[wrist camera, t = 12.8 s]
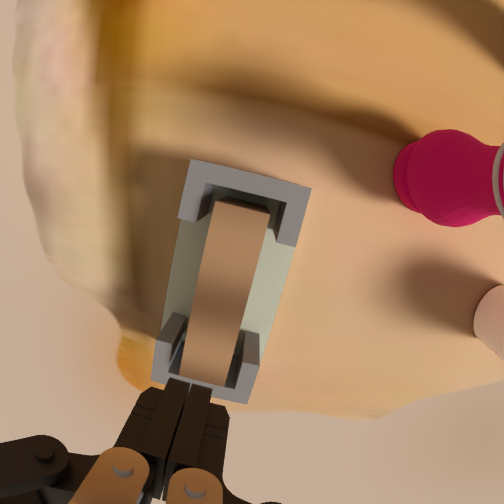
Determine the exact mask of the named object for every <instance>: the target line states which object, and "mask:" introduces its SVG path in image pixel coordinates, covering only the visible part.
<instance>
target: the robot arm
mask: <svg viewBox="0 0 504 504" xmlns="http://www.w3.org/2000/svg"><path fill="white" fill-rule="evenodd" d="M189 389H190V391H189ZM212 390H213V388H209V387H205V386H201V385H197V384H193V383H192V385H191V388H190V383H189V382H185V381H182V380H178V379H175V378H171V377H170V378H169V379H168V382H167V384H166V386H165V389H164V390H161V389H158V388H154V387H150V388H148V389H147V390H145V391H144V392H142V393H141V394H140V396H139V398H138V400H137V402H136V405H135V406H134V408H133V410H132V412H131V414H130V416H129V418H128V420H127V421H126V423H125V425H124V427H123V429H122V431H121V433H120V435H119V437H118V439H117V441H116V443H115V445H114V446H113V447H112V448H110V449H107V450H106V451H104V452H103V453H102V454H100V455H93V456H89V455H81V454H75V453H69V452H68V451H67V449H66V447H65V446H64V445H63V444H62V443H61V442H60V441H59V440H57V439H55V438H53V437H50V436H47V435H36V436H31V437H27V438H23V439H18V440H14V441H9V442H4V443H0V504H151V501H152V498H156V499H159V500H160V498H161V494H162V491H163V497H162V500H163V501H166V504H251V503H249V502H247V501H244V500H242V499H240V498H238V497H236V496H235V495H233V494H232V493H231V492H230V491H229V490H228V489H227V488H226V486H225V485H224V482H223V478H222V473H223V465H224V458H225V450H226V442H227V441H226V440H227V434H228V427H229V419H230V417H229V415H228V413H227V410H226V408H225V406H222V405H217V404H213V403H210V399H211V395H212ZM163 487H164V490H163ZM261 504H281V503H277V502H265V503H261Z"/></svg>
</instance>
